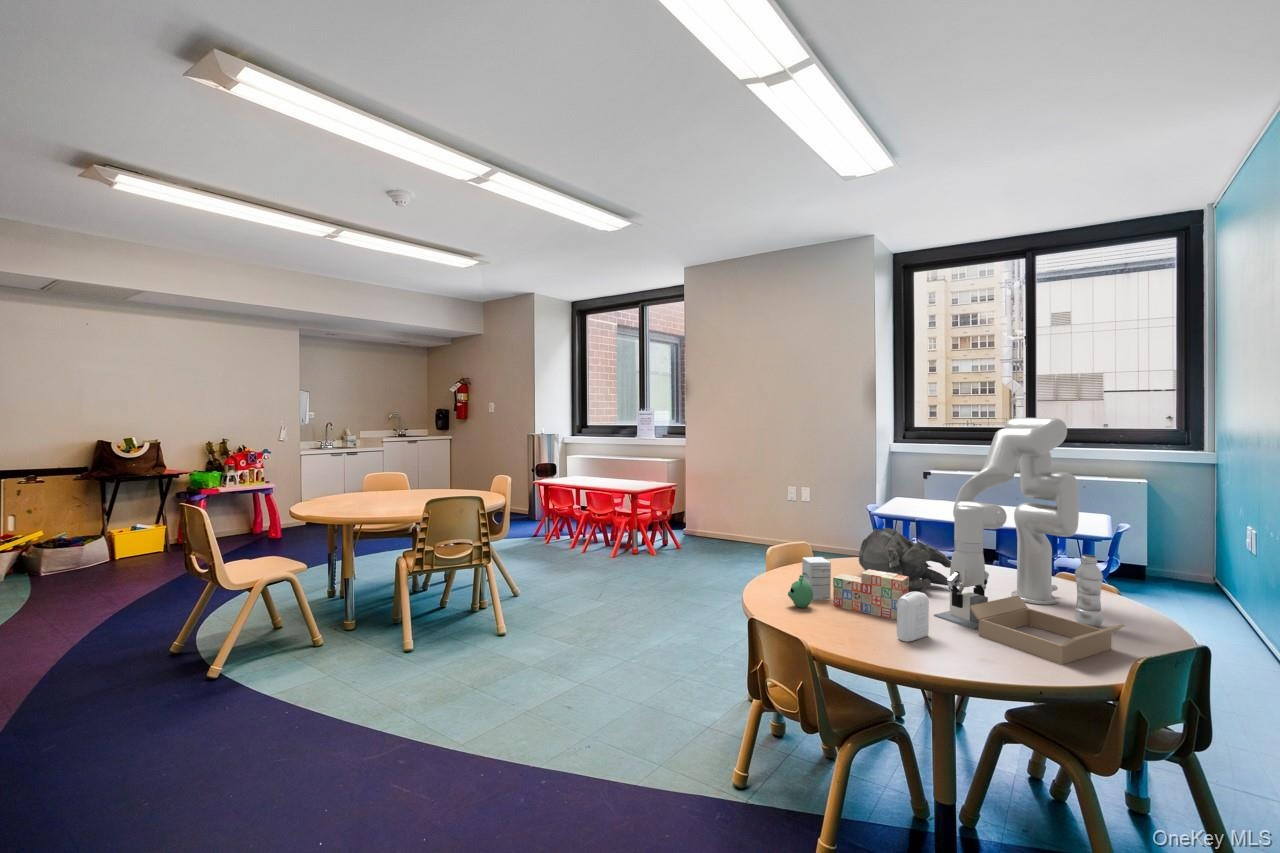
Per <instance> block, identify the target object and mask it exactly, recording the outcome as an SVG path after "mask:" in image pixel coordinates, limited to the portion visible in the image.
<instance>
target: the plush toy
mask: <svg viewBox="0 0 1280 853" xmlns="http://www.w3.org/2000/svg"><path fill="white" fill-rule="evenodd" d="M872 529H873V530H872V532H870V533H869V535H867V537H866V538H864V539H863V540H862V543H861V544H860V549H859V552H858V562H859V565H860V566H861V567H862V569H863V570H864V572H865V571H867V570H868V569H870V570H875V571H881V572H887V573H895V574H898V575H902V576H908V577H909V590H911V591H912V590H913V591H912V592H921V591H923V590H925V589H927V588H929V587H931V584H933V585H940V586H948V583H947V579H948V578H949V577H946V576H945V575H943V573H941V572H939V571H936V570H934V569H931V568H932V566H931V565H930V564H928V562H933V563H938V564H941V565H942V566H943V567H944V568H949V569H950V568H951V560H950V558H948V557H947V556H946V554H944V553H942V552H941V551H940V550H938V549H937V548H935V547H934V546H931V545H929V544H924V543H922V542H920V541H918V540H917V542H913V541H912V540H911V539H908V538H907V537H906V536H905V535H903V534H901V533H900V532H899V531H897V530H895V529H894V528H891V527H883V528H881V529H878V528H872ZM948 587H949V586H948Z"/></svg>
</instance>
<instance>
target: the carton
mask: <svg viewBox="0 0 1280 853" xmlns="http://www.w3.org/2000/svg"><path fill="white" fill-rule="evenodd" d="M969 608H970V609H971V611H972V612H973V614H974V615H975V616H976V618H977V619H978V620H979V628H978V637H981V636H982V638H984V639H988V640H990V639H991V640H990V641H993V642H997V643H999V644H1001V643H1002V645H1005V646H1008V647H1010V646H1011V648H1013V647H1014V648H1013V649H1016V648H1018V649H1017V650H1019V649H1020V650H1019V651H1022V650H1023V651H1022V652H1024V651H1026V652H1025V653H1027V652H1029V653H1028V654H1030V653H1032V654H1031V655H1033V654H1035V655H1034V656H1036V655H1038V656H1037V657H1039V656H1041V657H1040V658H1042V657H1044V658H1043V659H1045V658H1046V659H1045V660H1047V659H1049V660H1048V661H1050V660H1051V662H1053V661H1054V662H1053V663H1056V662H1057V664H1059V663H1060V664H1059V665H1064V664H1065V663H1066V664H1068V663H1071V662H1074V661H1078V660H1082V659H1084V658H1088V657H1090V656H1094V655H1097V654H1101V653H1104V652H1107V651H1110V650H1112V642H1113V640H1112V638H1113V637H1112V635H1113V633H1115V632H1117V631H1118V630H1120V629H1122V628H1124V627H1125V626H1126V624H1125V623H1121V624H1117V625H1113V626H1110V627H1105V628H1103V629H1102V628H1099V627H1094V626H1089V625H1085V624H1082V623H1078V622H1077V621H1076V620H1075V621H1074V620H1071V619H1067V618H1065V617H1060V616H1056V615H1053V614H1049V613H1046V612H1043V611H1038V610H1035V609H1032V608H1029V607H1028V605H1027V604H1026V602H1023V601H1022V599H1021V598H1020V597H1019V595H1018V596H1013V597H1012V596H1010V597H1005V598H999V599H995V600H991V601H988V602H985V603H980V604H976V605H971V606H969ZM1027 624H1029V625H1027ZM1023 625H1025V626H1031V625H1032V626H1031V627H1034V626H1036V627H1035V628H1037V627H1039V628H1038V629H1041V628H1042V629H1041V630H1044V629H1045V631H1047V630H1048V632H1050V631H1051V632H1050V633H1054V632H1055V633H1054V634H1057V633H1058V634H1057V635H1060V634H1061V635H1060V636H1063V635H1064V636H1063V637H1067V638H1071V639H1069V640H1068V641H1066V642H1064V643H1062V644H1059V643H1057V642H1054V641H1050V640H1047V639H1044V638H1041V637H1038V636H1035V635H1032V634H1029V633H1025V632H1023V631H1020V630H1016V628H1015V627H1017V628H1020V627H1019V626H1021V627H1024V626H1023ZM1012 628H1013V629H1012Z"/></svg>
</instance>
